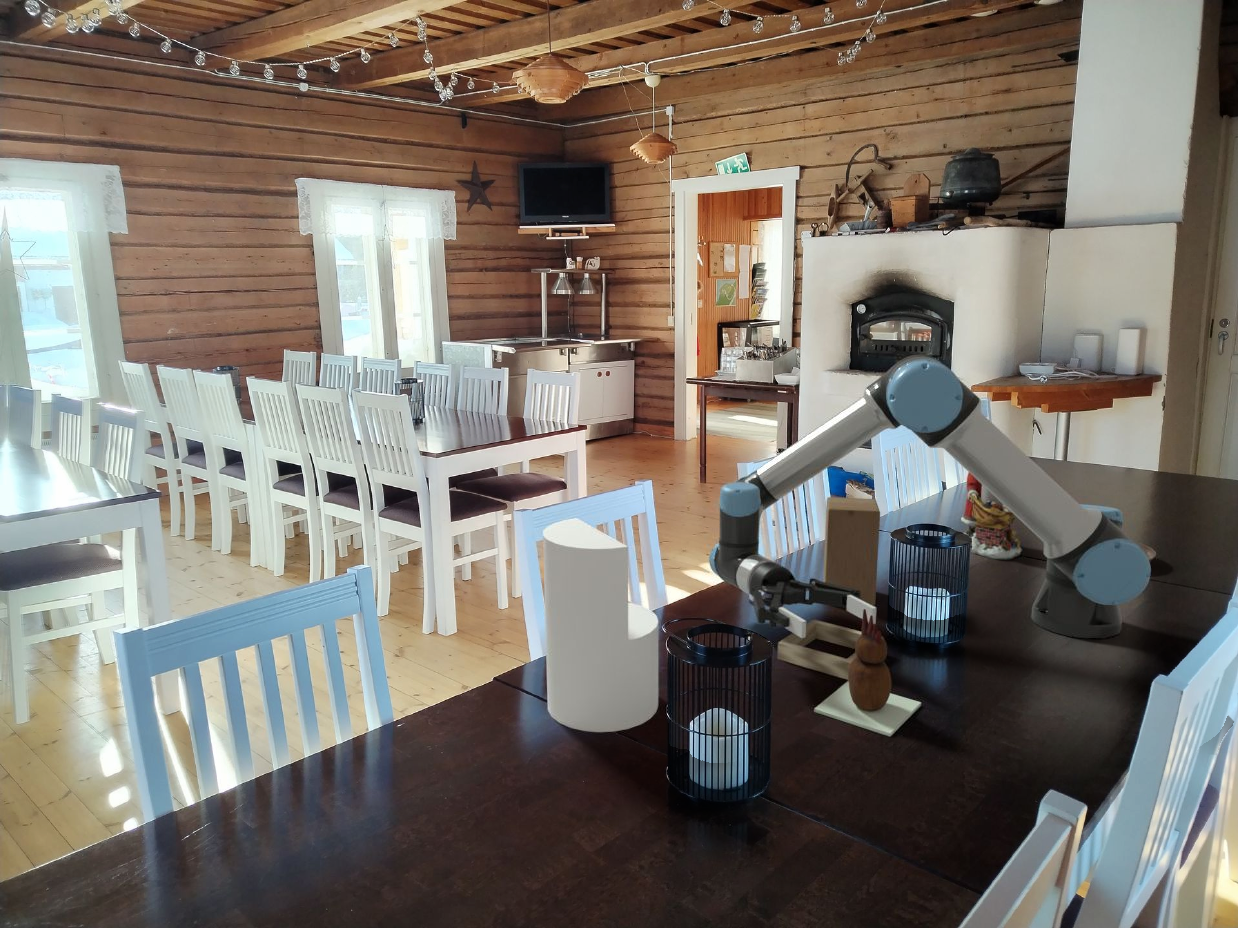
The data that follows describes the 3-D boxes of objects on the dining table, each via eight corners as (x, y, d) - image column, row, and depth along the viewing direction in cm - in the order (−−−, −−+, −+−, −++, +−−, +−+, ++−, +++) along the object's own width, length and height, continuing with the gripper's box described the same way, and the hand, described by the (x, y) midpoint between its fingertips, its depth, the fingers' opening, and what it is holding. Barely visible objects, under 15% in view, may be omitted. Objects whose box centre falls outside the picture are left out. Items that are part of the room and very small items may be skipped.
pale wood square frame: (882, 653, 154) (883, 637, 154) (849, 680, 144) (850, 663, 143) (812, 634, 162) (813, 619, 162) (777, 658, 152) (777, 642, 152)
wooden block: (875, 607, 176) (880, 510, 171) (823, 604, 178) (828, 508, 173) (871, 590, 185) (876, 498, 181) (822, 587, 187) (826, 496, 183)
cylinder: (575, 742, 125) (571, 555, 120) (530, 693, 140) (525, 525, 135) (679, 714, 133) (680, 537, 127) (625, 670, 148) (624, 510, 142)
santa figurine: (1025, 562, 202) (1033, 456, 197) (959, 557, 206) (966, 453, 202) (1017, 543, 218) (1025, 444, 213) (957, 538, 222) (963, 441, 217)
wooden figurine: (842, 695, 138) (846, 605, 134) (877, 694, 138) (883, 604, 135) (857, 716, 131) (862, 622, 128) (894, 715, 131) (900, 621, 128)
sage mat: (920, 705, 135) (921, 702, 135) (890, 736, 126) (890, 733, 126) (848, 683, 143) (848, 680, 143) (814, 711, 134) (814, 708, 134)
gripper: (822, 590, 164) (900, 631, 145) (705, 611, 154) (772, 658, 135) (824, 552, 162) (903, 588, 143) (705, 570, 153) (773, 612, 134)
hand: (839, 622), depth 139 cm, fingers open, 13 cm apart
